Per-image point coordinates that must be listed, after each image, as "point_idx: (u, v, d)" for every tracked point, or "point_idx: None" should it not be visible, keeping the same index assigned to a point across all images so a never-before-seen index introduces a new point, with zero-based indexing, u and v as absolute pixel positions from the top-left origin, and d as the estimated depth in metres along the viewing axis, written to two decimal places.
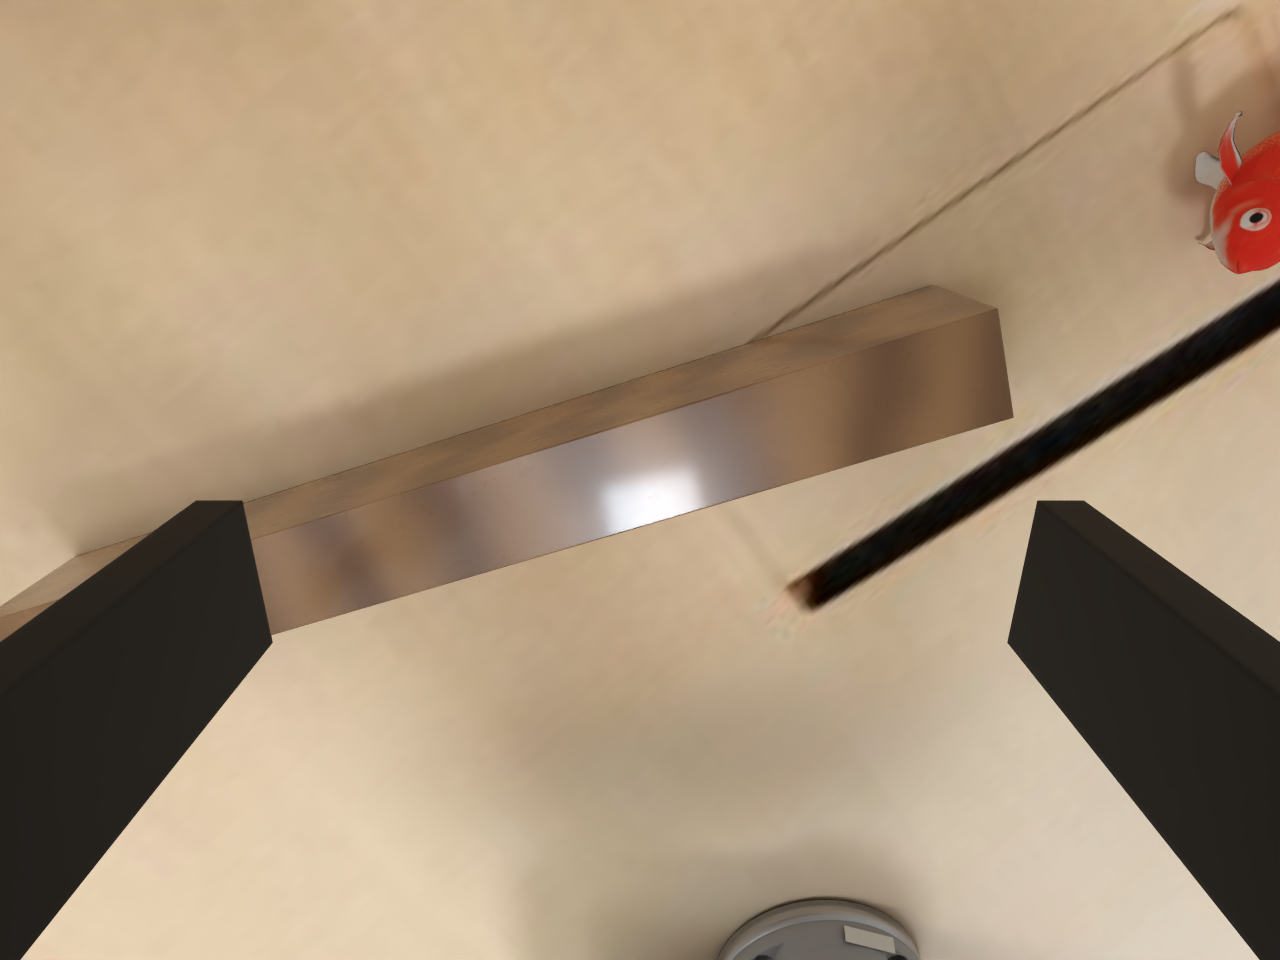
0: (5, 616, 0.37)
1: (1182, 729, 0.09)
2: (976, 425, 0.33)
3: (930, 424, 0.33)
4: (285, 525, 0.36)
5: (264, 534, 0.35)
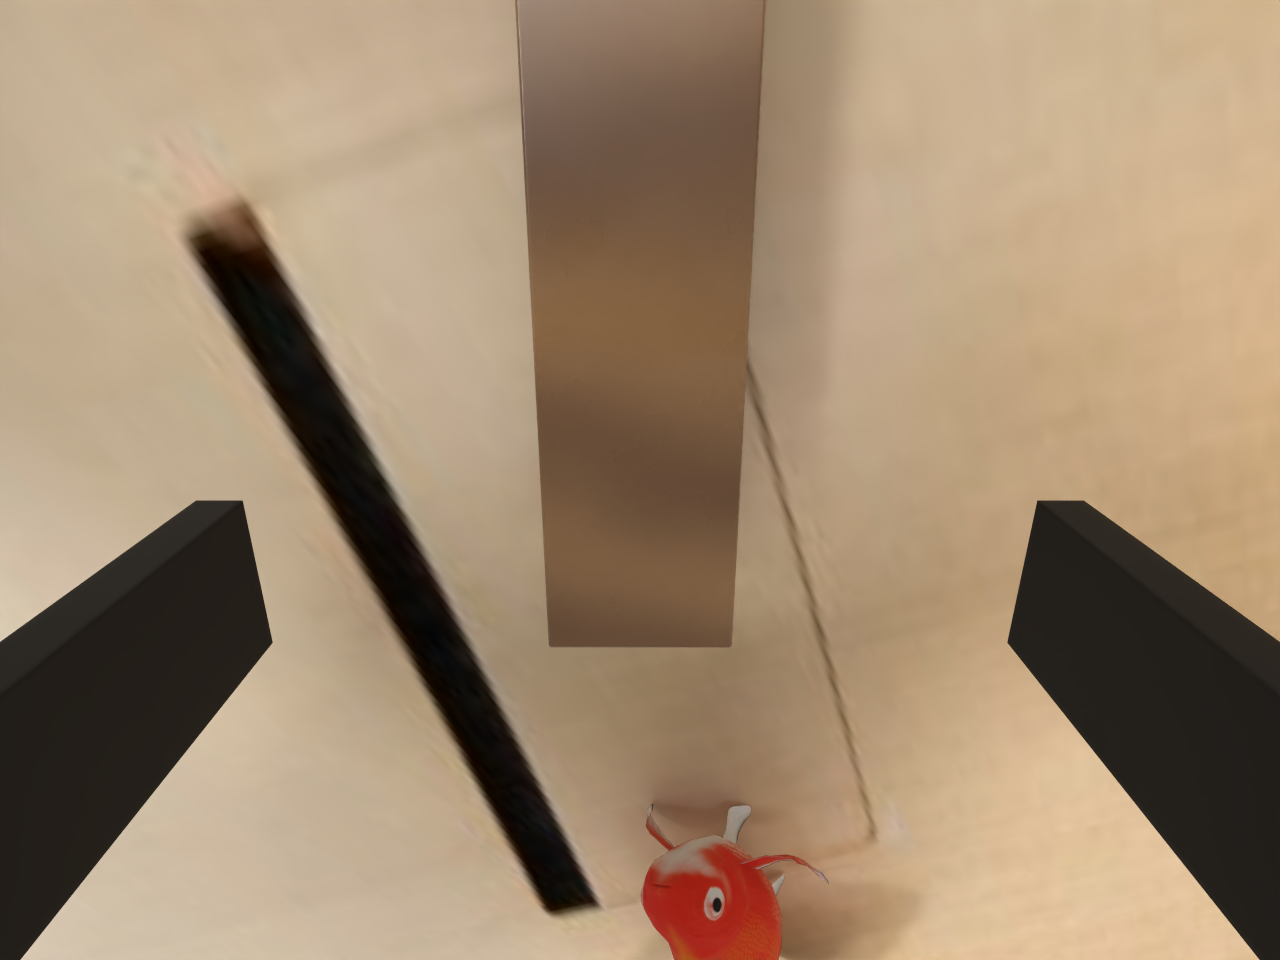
0: None
1: (1183, 730, 0.09)
2: (552, 597, 0.20)
3: (575, 530, 0.19)
4: None
5: None
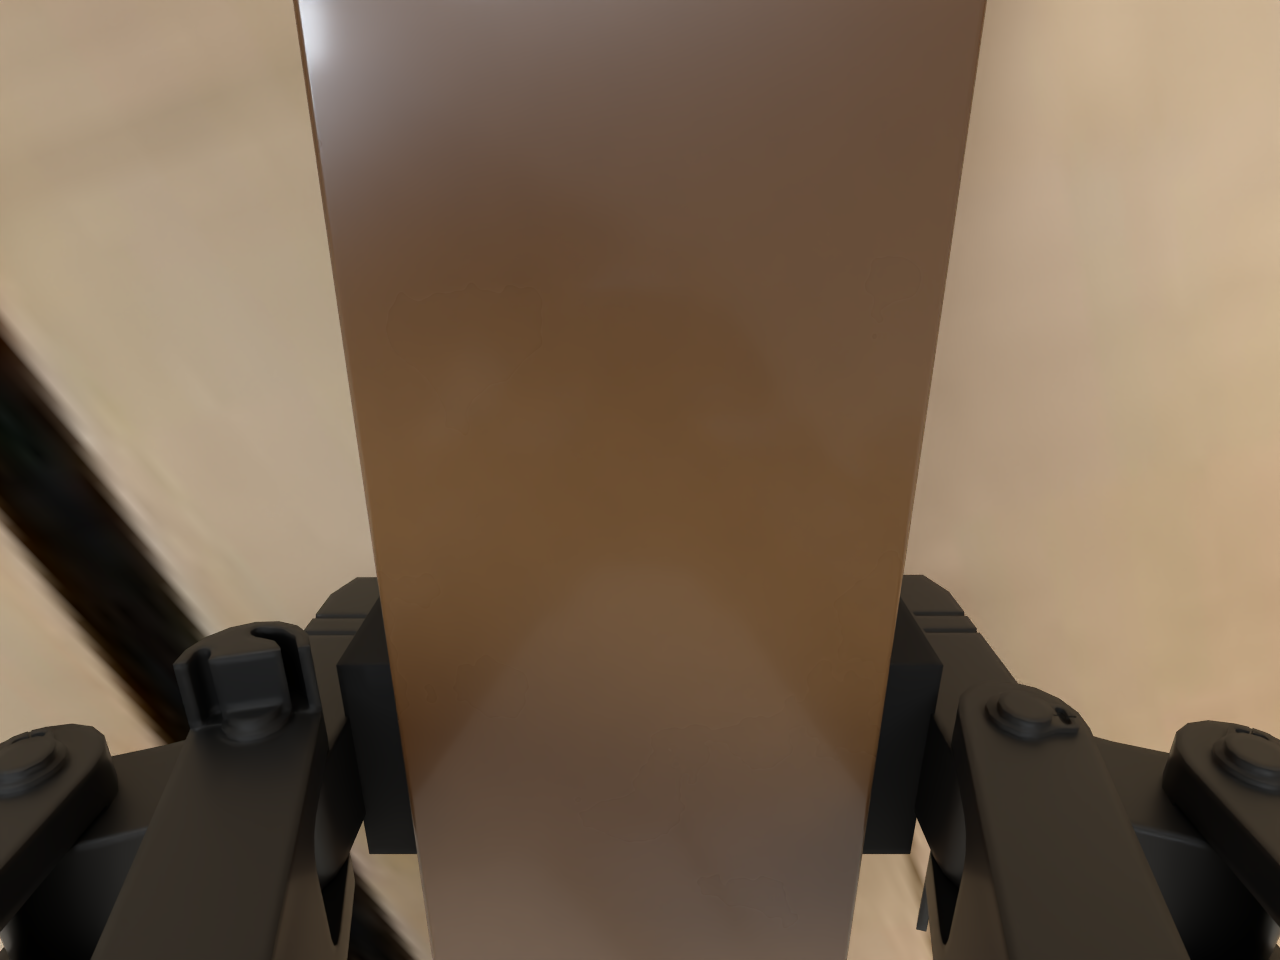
0: None
1: None
2: None
3: (498, 940, 0.09)
4: None
5: None
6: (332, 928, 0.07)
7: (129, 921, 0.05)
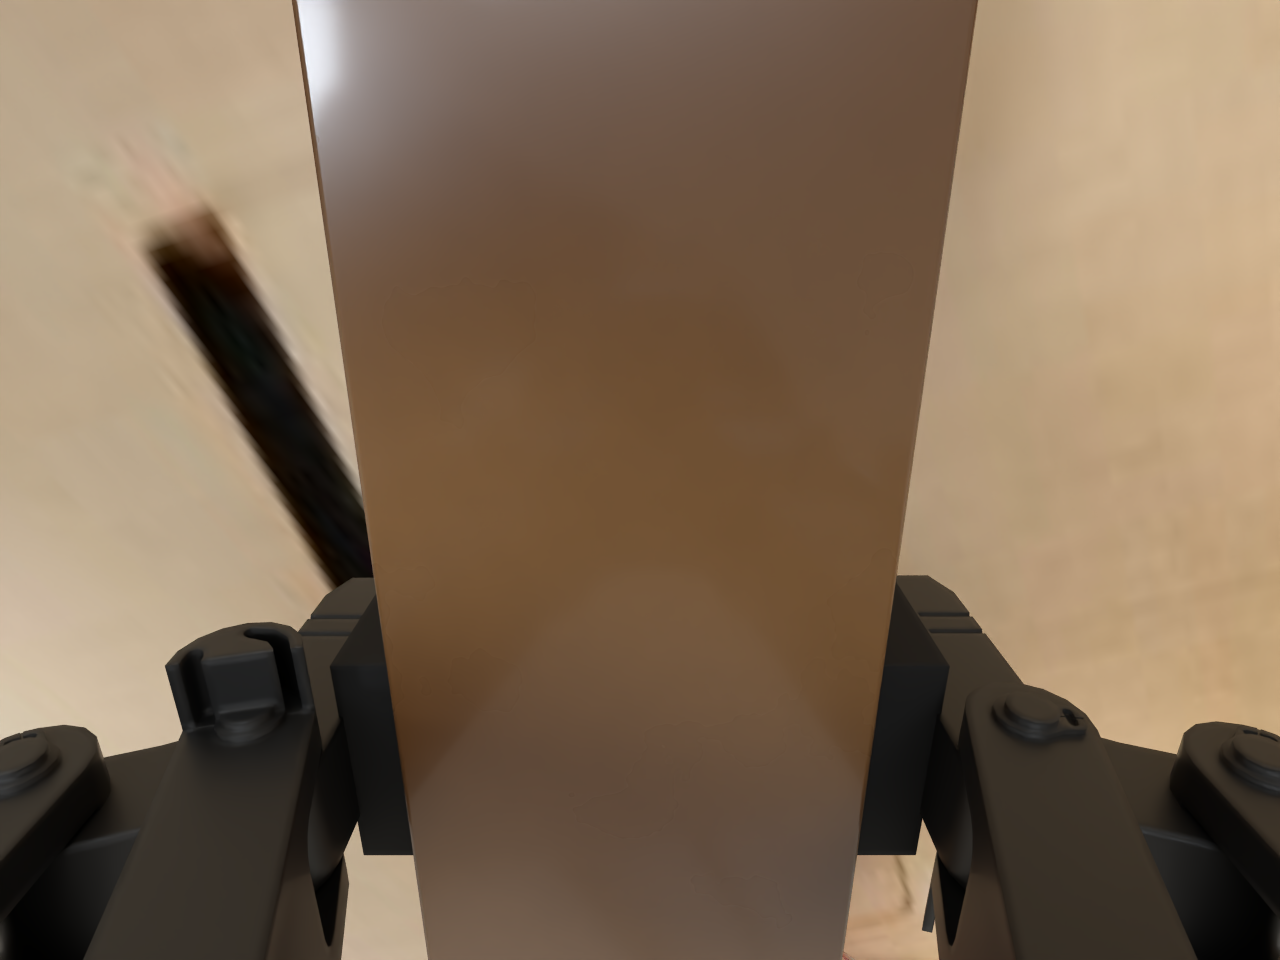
0: None
1: None
2: None
3: (492, 934, 0.09)
4: None
5: None
6: (326, 929, 0.07)
7: (121, 923, 0.05)
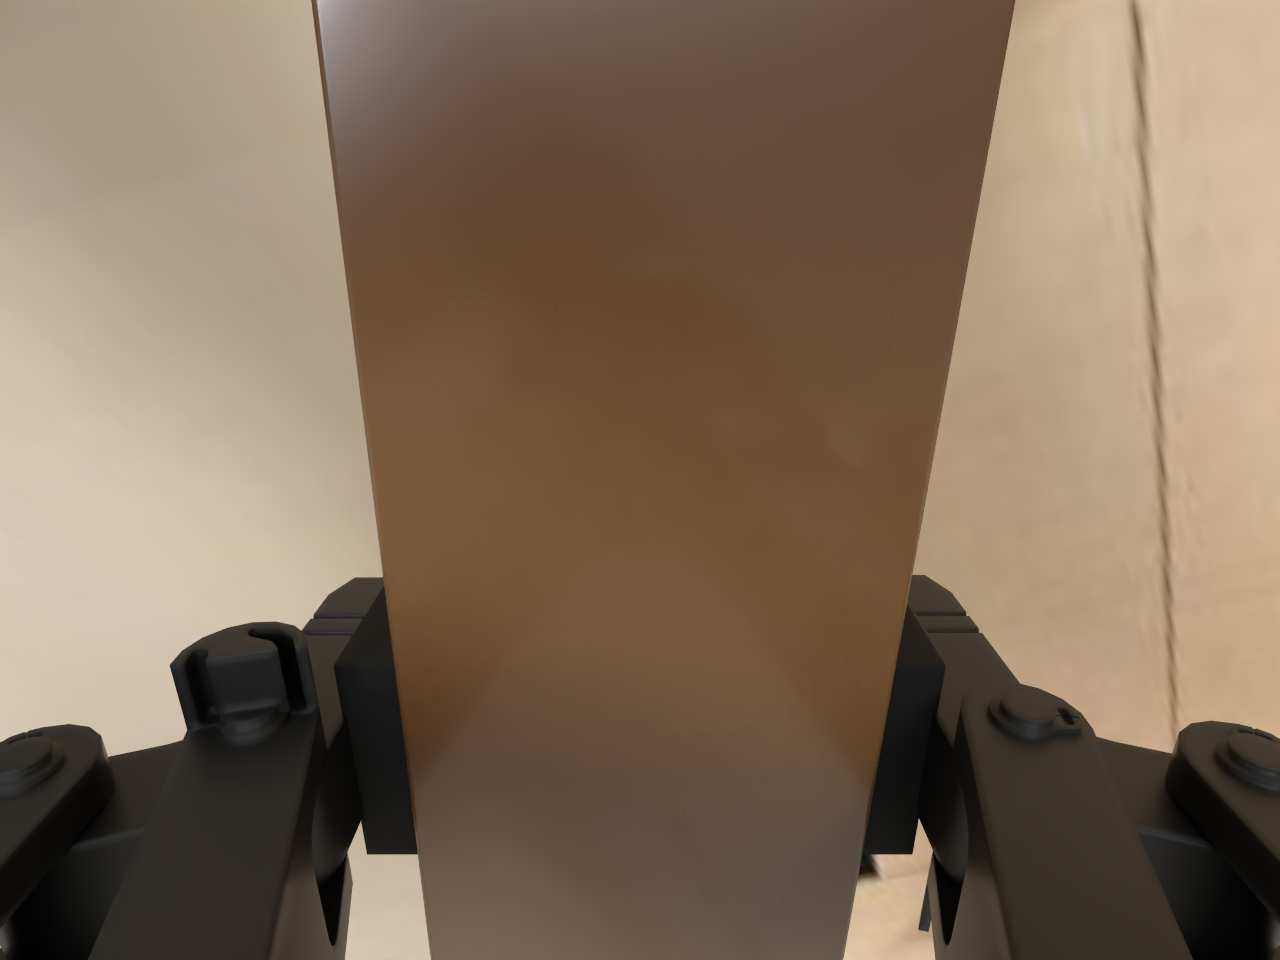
0: None
1: None
2: None
3: (496, 938, 0.09)
4: None
5: None
6: (330, 928, 0.07)
7: (126, 922, 0.05)
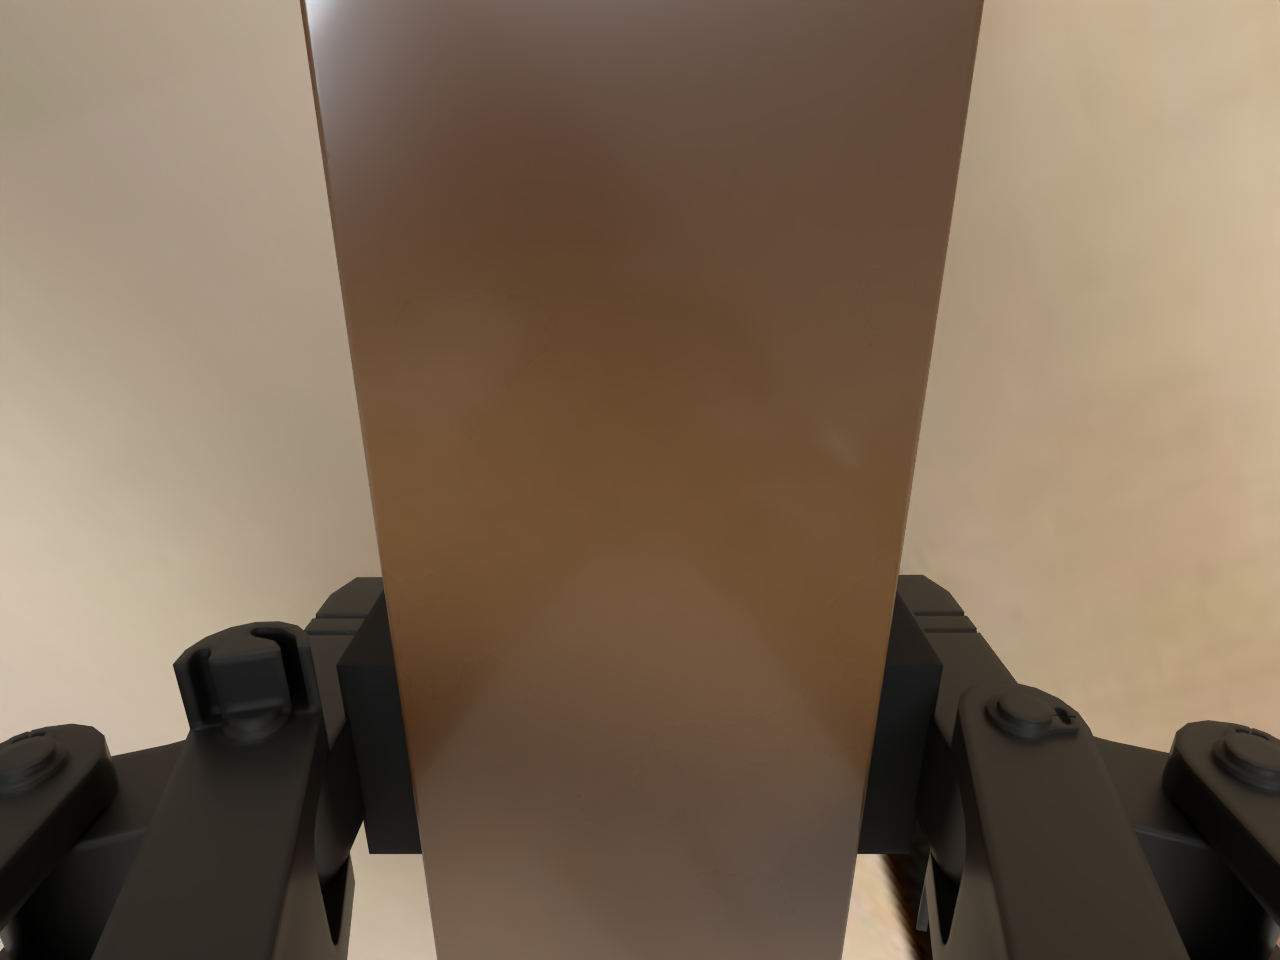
0: None
1: None
2: None
3: (500, 932, 0.09)
4: None
5: None
6: (332, 928, 0.07)
7: (129, 921, 0.05)
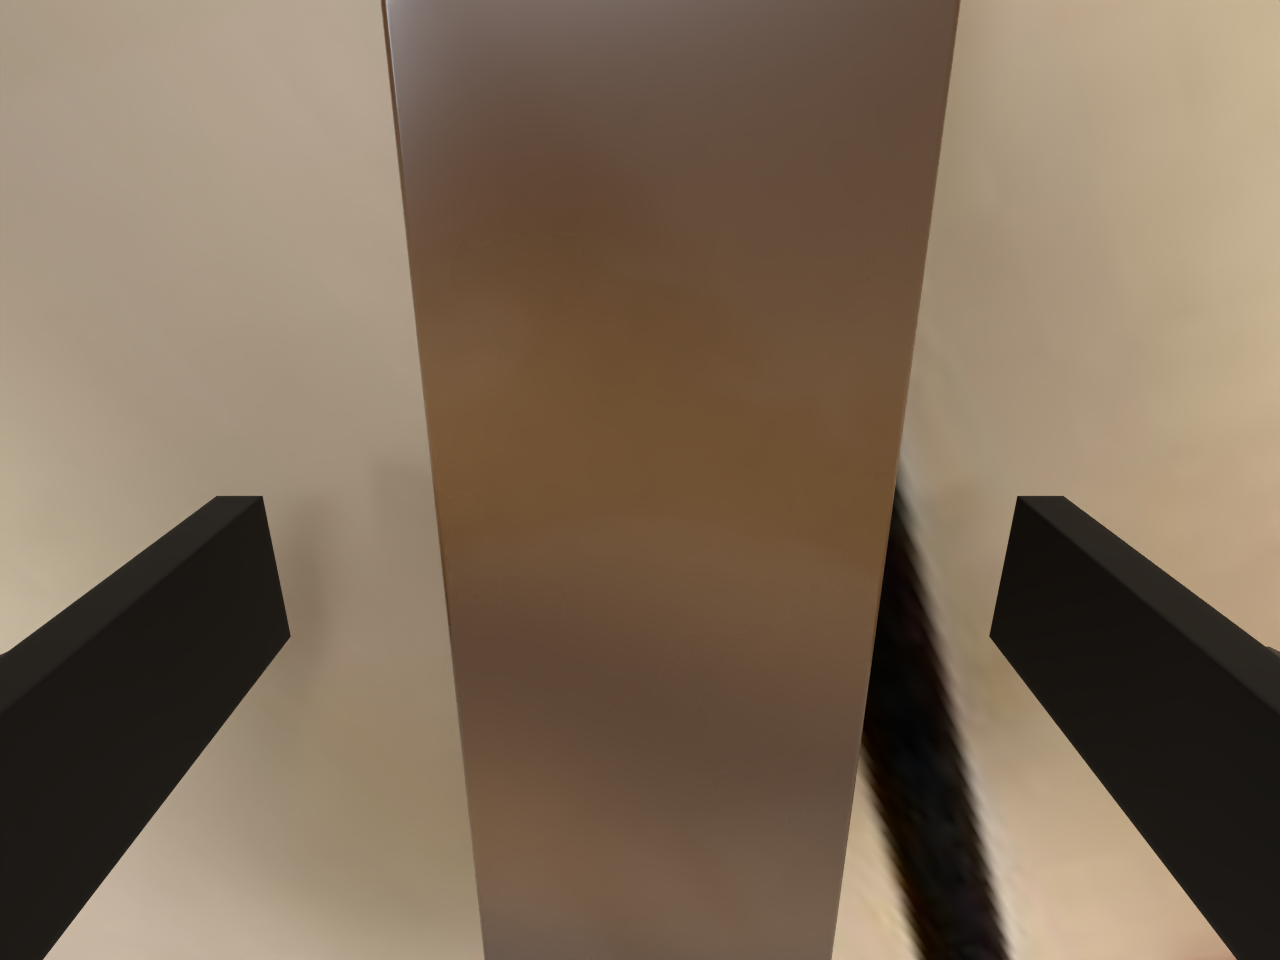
0: None
1: (1153, 719, 0.09)
2: (493, 939, 0.11)
3: (532, 835, 0.10)
4: None
5: None
6: None
7: None
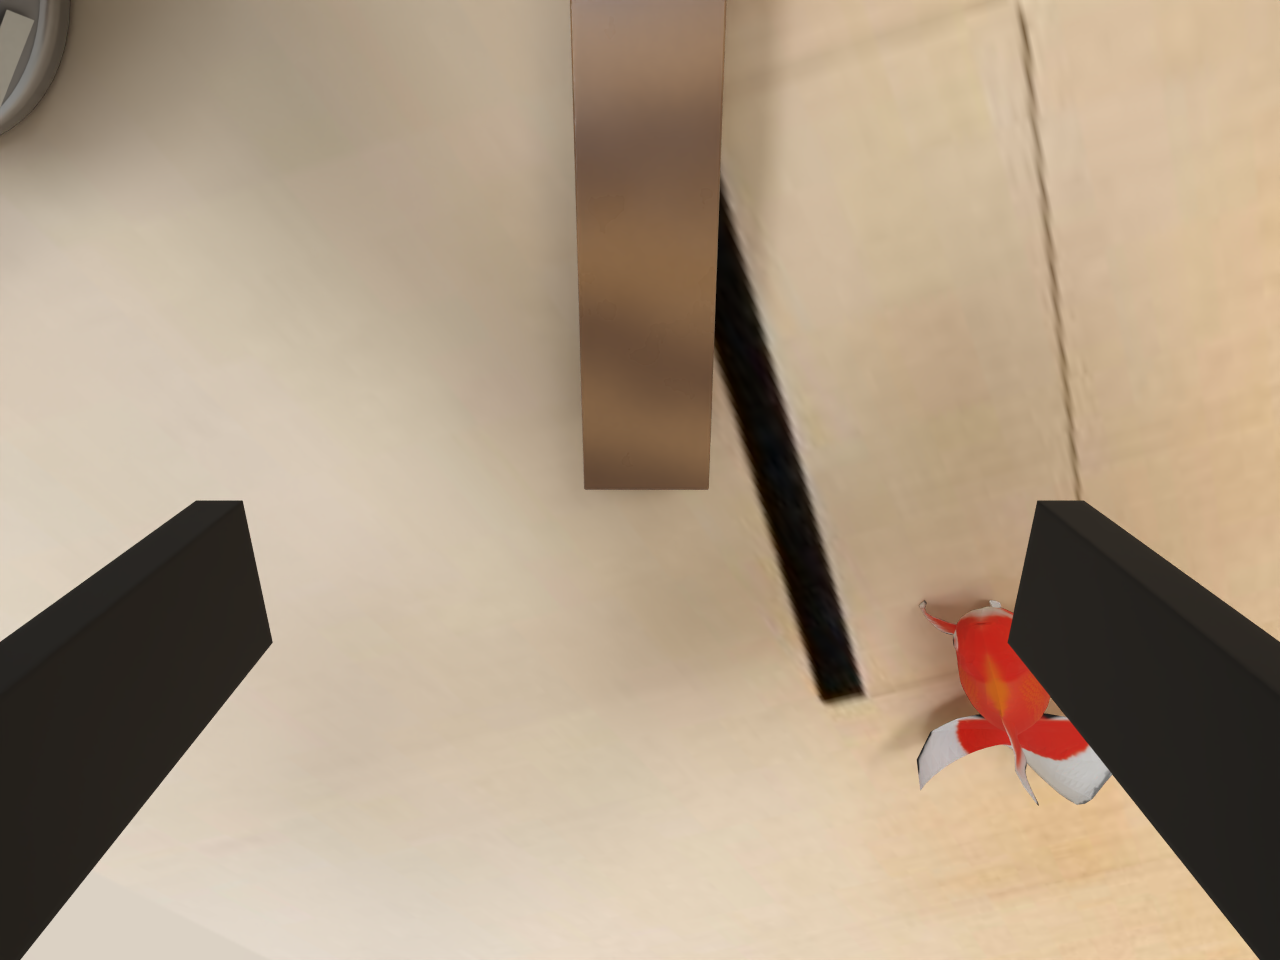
0: None
1: (1182, 729, 0.09)
2: (587, 452, 0.30)
3: (603, 404, 0.29)
4: None
5: None
6: None
7: None
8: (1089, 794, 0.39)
